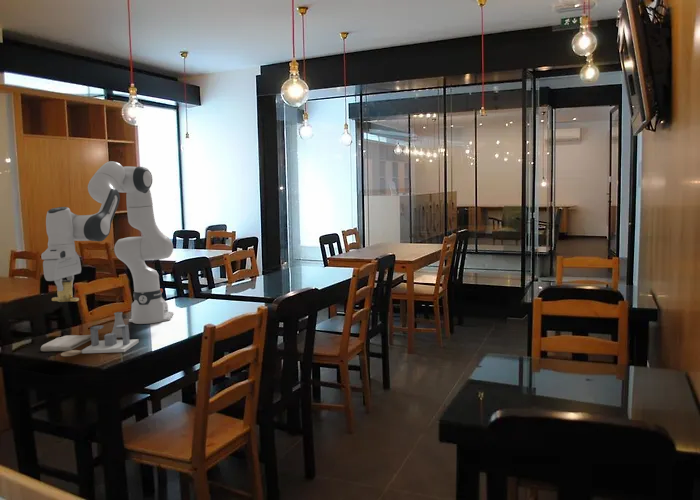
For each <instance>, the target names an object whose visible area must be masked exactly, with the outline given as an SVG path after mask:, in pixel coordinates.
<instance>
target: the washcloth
mask: <svg viewBox="0 0 700 500" xmlns="http://www.w3.org/2000/svg"><path fill="white" fill-rule="evenodd" d="M90 341H91V334H83V335H76V334H70V335H63V336H61V337H60V336H58V337H56V338H55V339H52V340H50V341H48V342H46V343H44V344H42V345H41V347H40V351H41V352H66V351H72V350H76V349H77V348H78V347H80V346H82V345H84V344H86V343H88V342H90Z"/></svg>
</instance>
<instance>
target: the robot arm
mask: <svg viewBox="0 0 700 500" xmlns="http://www.w3.org/2000/svg"><path fill="white" fill-rule="evenodd" d="M152 185H153V175H152V172H151V171H150V170H149V169H148V167H143V166H130V165H129V166H123V165H122V164H121V163H119V162H117V161H112V160H110V161H107V162H105V163H103V164H102V165H101V166H100V167H99V168H98V169H97V170H96V172H95V173H94V174H93V175H92V177H91V178H90V179H89V182H88V184H87V192H88V194H89V196H90V197H91V198H92V200H94V201H96V202H97V203H99V204H101V206H100V208H99V210H98V212H96V213H94V214H93V213H92V214H86V215H85V214H82V215H80V214H77V213H74V212H72V210H71V209H70V208H69V207H67V206H59V207H54V208H53V207H52V208H50V209H48V211H47V212H46V216H45V227H46V235H47V238H48V242H47V248H46V249H45V251H43V252H42V253H41V260H43V261H42V268H43V277H44V279H45V281H46V282H54V284H55V286H56V291H57V290H58V291H63V290H64V286H63V285H62V280H63V279H65V278H66V280H71V281H72V288H74V285H73V283H74V280H75V275H79V274H81V273H82V265H81V264H82V263H81V259H80V255H79V254H78V252H77V251H76V244H75V241H78V242H84V241H85V242H86V241H87V242H89V241H91V242H103V241H104V240H106V238H107V237H108V236H109V235H110V232H111V229H112V223H113V219H114V216H115V214H116V211H117V210H118V206H119V204H120V199H121V196H120V193H126V194H125V195H126V200H125V201H126V211H127V221H128V224H129V225H130V226H131V227H132V228H134V229H136V230H138V231H139V232H141V234H142V236H128V237H124V238H119V239H118V240H117V241H116V242H115V244H114V249H113V250H114V254H115V257H117V259H118V260H120V261H121V262H122V263H124V265H126V266H127V268H128V269H129V271H130V273H131V277H132V281H133V290H134V291H133V300H134V301H133V302H131V318H129V319H128V322H129V323H133V324H136V325H137V324H138V325H143V324H144V325H145V324H146V325H148V324H154V323H155V324H157V323H160V322H167V321H170V320H171V319H172V317H173V315H174V312H173V311H169V305H168V302H167V301H166V300H165V298H164V297H163V295H162V293H164V291H163V288H160V287H161V286H160V275H159V273H158V271H157V270H156V269H154V268H152V267H149V266H148V265H147V264H146V261H157V260H158V261H161V260H164V259H168V258H170V257H171V256H172V254H173V251H174V244H173V242H172V240H171V238H170V237H168V236H166V235H165V234H164V233H163V232H162V230H160V229H159V227H158V226H157V223H156V220H155V219H156V218H155V214H154V207H153V206H154V205H153V198H152V192H151V187H152Z"/></svg>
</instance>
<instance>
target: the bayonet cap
mask: <svg viewBox="0 0 700 500" xmlns="http://www.w3.org/2000/svg"><path fill="white" fill-rule="evenodd" d="M62 285H63V286H64V290H63V291H58V290H57V289H56V291H57V292H56V293H57V296H54V297H52V298H51V301H52V302H59V303H66V302H67V303H68V302H78V301H80V298H79V297H74V295H73V287H72V281H71V280H67V279H62Z"/></svg>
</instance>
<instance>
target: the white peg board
mask: <svg viewBox="0 0 700 500" xmlns="http://www.w3.org/2000/svg"><path fill="white" fill-rule="evenodd" d="M103 328H104V325H92V326H91V327H89V329H90V335H91V340H90V341H91V342H90V343H91V344H90V345H89V346H85V348H83V349H81V352H82V353H81V354H103V353H107V354H108V353H109V354H110V353H125V352H127V351H128V350H130V349H131V348H132V347H134V346H135V345H137V344H138V343H140V341H139V340H140V339H139V338H137V339H130V335H129V334H130V330H129V329H130V328H129V324H125V325H118V326H116V329H122V338H121V339H118V338H116V333H112V332H111V333H106V334H104V335H103V336H104V337H103V338H104V339H103V340H99V330H102V329H103Z"/></svg>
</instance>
